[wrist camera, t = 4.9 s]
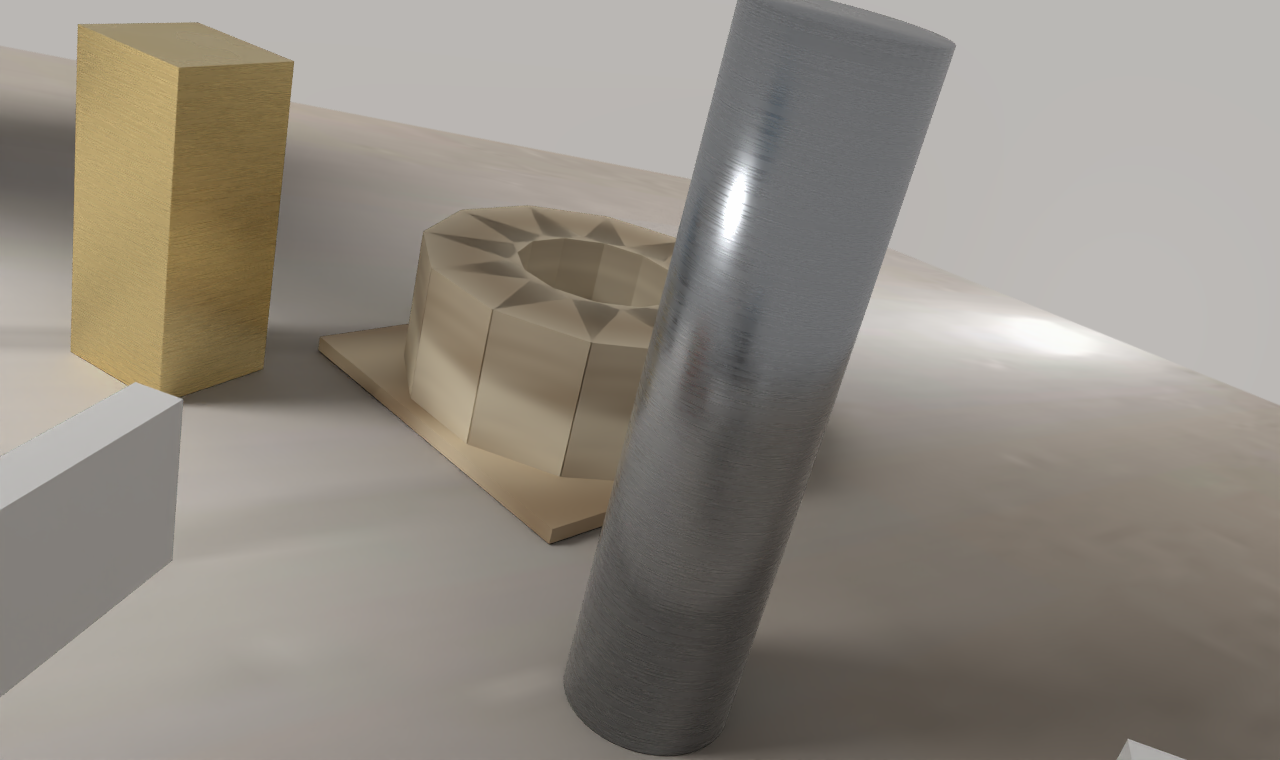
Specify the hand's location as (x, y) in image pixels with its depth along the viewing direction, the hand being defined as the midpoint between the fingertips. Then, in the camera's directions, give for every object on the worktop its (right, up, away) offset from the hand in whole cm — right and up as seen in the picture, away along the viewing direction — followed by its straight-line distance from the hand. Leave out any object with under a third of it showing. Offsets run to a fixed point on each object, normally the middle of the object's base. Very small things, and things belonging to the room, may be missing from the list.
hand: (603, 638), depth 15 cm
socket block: (-2, +3, +25) cm, 25 cm away
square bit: (-14, +4, +21) cm, 26 cm away
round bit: (+1, -4, +12) cm, 13 cm away
